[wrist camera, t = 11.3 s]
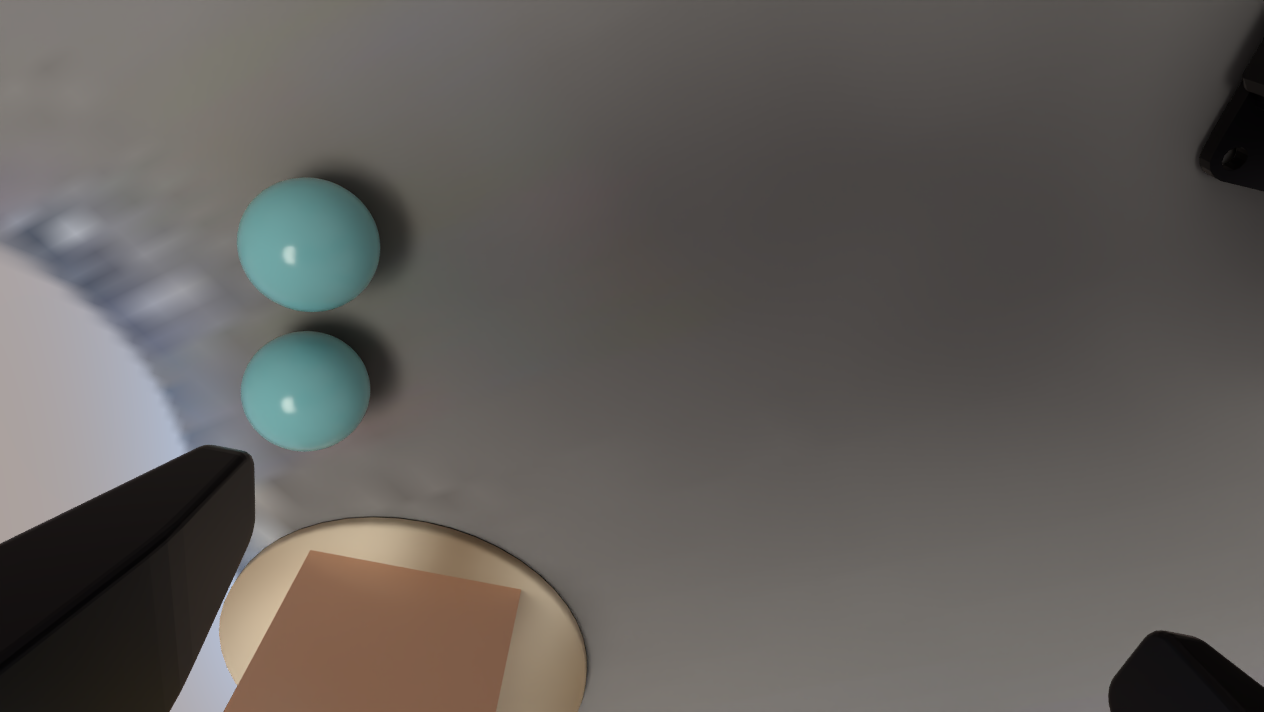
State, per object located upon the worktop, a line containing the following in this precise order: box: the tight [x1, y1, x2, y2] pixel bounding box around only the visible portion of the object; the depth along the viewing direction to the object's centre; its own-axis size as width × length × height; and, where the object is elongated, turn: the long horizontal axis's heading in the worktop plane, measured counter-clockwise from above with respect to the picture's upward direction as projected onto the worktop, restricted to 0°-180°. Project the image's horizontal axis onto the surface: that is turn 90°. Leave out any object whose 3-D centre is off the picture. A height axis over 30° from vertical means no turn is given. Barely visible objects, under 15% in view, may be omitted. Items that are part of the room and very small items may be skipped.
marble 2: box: [241, 331, 370, 452], centre depth 20 cm, size 3×3×3 cm
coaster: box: [219, 517, 587, 712], centre depth 27 cm, size 12×12×1 cm
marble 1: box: [237, 177, 380, 312], centre depth 18 cm, size 3×3×3 cm
